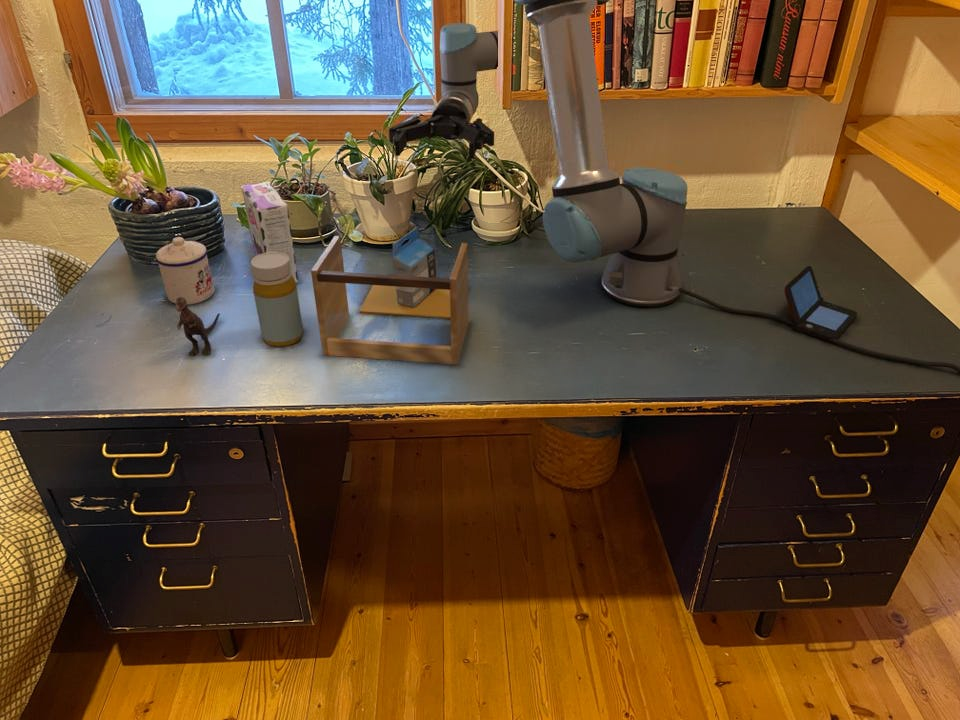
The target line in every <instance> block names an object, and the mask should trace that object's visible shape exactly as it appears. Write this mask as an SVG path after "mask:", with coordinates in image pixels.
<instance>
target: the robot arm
mask: <svg viewBox="0 0 960 720" xmlns="http://www.w3.org/2000/svg"><path fill="white" fill-rule="evenodd" d="M609 1H611V0H513V2H514V3H517V4H519V5H522V6H523V5H524V11H525V12H526V18H527V20H528V21H530V22H531V23H532V24H533V25H535V26H536V27H537V29H538V36H539V43H540V56H541V62H542V69H543V76H544V82H545V90H546V97H547V103H548V111H549V116H550V117H549V118H550V122H551V123H550V124H551V130H552V137H553V144H554V151H555V158H556V164H557V172H558V177H557V178H556V180H555V181H554V183H553V184H552V186H551V191H552V198H551V199H550V200H549V201H548V202H546V204H545V206H544V209H543V210H544V212H543V213H542V225H543V230H544V232H545V236H546V239H547V241H548V243H549V244H550V246H551V247H552V249H553V250H554V251H555V252H556V253H557V255H559V256H560V257H561V258H562V259H564V260H565V261H567V262H569V263H570V262H571V263H582V262H587V261H596V260H597V259H599V258H602V257H607V256H610V255H611V256H610V258H609V260H608V262H607V264H606V267H605V269H604V270H603V273H602V277H601V284H600V287H601V289H602V291H603V293H604V294H605V295H606V296H607V297H608V298H610V299H612V300H613V301H615V302H617V303H620V304H623V305H626V306H631V307H637V308H659V307H663V306H668V305H671V304H672V303H675V302H676V301H677V300H678V299H679V298H680V296H681V294H684V295H687V296H689V297H692V298H694V299H696V300H699V301H701V302H704V303H705V304H708V305H710V306H712V307H713V308H716V309H719V310H721V311H724V312H729V313H732V314H740V315H747V316H756V317H763V318H768V319H772V320H775V321H779V322H781V323H784V324H786V325H789V326H791V327H793V325H794V323H795V322H794V320H793V321H792V320H791V319H788V318H785V317H783V316H779V315H776V314H772V313H768V312H763V311H758V310H757V311H755V310H746V309H739V308H733V307H729V306H725V305H723V304H720V303H717V302H715V301H713V300H711V299H709V298H707V297H705V296H702V295H699V294H697V293H695V292H692V291H690V290H687V289H684V288H682V287H683V280H682V275H681V269H680V264H679V259H678V254H679V253H678V252H679V246H680V243H681V242H680V241H681V234H682V230H683V224H684V219H685V213H686V207H687V205H688V201H687V197H688V190H689V189H688V184H687V182H686V181H685V180H684V179H683V178H682V177H681V176H679V175H677V174H675V173H672V172H669V171H667V170H662V169H659V168H653V167H643V166H642V167H639V166H638V167H636V166H635V167H630V168H628V169H625V171H624V172H623V174H622V176H621V180H622V181H621V180H620V174H619V173H617V172H616V171H615V170H613V169H612V168H611V167H610V164H609V158H608V157H609V156H608V149H607V143H606V141H607V140H606V134H605V127H604V125H605V124H604V119H603V111H602V103H601V102H602V101H601V96H600V88H599V87H600V86H599V79H598V72H597V64H596V57H595V48H594V41H593V33H592V23H591V15H592V13H593V12H594V11H595V9H596V7H597V6H603V5H605V4H608V2H609ZM498 31H499V30H491V31H482V32H477V27H476V26H475V25H474V24H472V23H465V22H458V23H457V22H454V23H453V22H452V23H447V24H445V25H443V26H442V27H441V29H440V33H439V34H440V35H439V36H440V37H439V60H440V73H441V77H440V79H441V81H440V89H441V90H440V92H441V94H440V95H441V97H440V100H439V101H438V103H437V104H436V106H435V108H434V110H433V111H432V113H431V116H430V117H429V118H425V119H424V120H422V119H421V117H420V116H419V115H415V116H413V117H412V118H410V119H409V120H406V121H403V122H401V123H398V124H395V125H393V126H391V127H388V129H387V130H388V131H387V132H388V142H390V143H393V146H394V154H395V156H396V157H400V156H401V155H402V153H403V151H404V150H405V148H406V147H407V145H408V142H413V141H417V140H420V139H424V138H427V139H434V138H437V137H438V138H441V139H442V140H446V141H454V140H465V141H467V142H469V143H468V159H469V160H474V159H475V156H476V153H477V151H480V150H483V148H484V147H485V145H487V146H488V147H494V146H495V131H493V129H492V128H490V127H489V126H488V125H486V124H485V123H484V122H483V118H476V119H475V120H473V122H471V121H472V119H473V116H474V115H475V113H476V112H477V109H478V107H479V102H480V101H479V99H480V97H479V96H480V95H479V92H478V87H477V82H478V72H485V71H493V70H498V69H497V67H498ZM621 182H622V183H621ZM829 342H831V343H833V344H835V345H838V346H841V347H843V348H846V349H849V350H852V351H855V352H859V353H861V354H865V355H868V356H873V357H875V358H876V357H877V358H882V359H885V360H891V361H896V362H903V363H907V364H914V365H918V366H922V367H923V366H924V367H936V368H937V367H938V368H948V369H952V370H954V371H955V372H957V373H958V374H960V366H959V365H957V364H954V363H951V362H944V361H926V360H920V359H915V358H910V357H905V356H899V355H893V354H888V353H884V352H879V351H875V350H870V349H866V348H864V347H861V346H857V345H854V344H850V343H847V342H845V341H842V340H840V339H832V340H831V341H829ZM913 516H914V518H913V517H912V518H913V520H912V519H911V520H912V522H911V521H910V523H911V524H910V523H909V525H910V526H909V525H908V527H909V528H908V527H907V532H909V533H912V532H913V530H914V528H915V525H916V523H917V520H918V518H919V515H913Z"/></svg>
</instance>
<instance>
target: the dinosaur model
mask: <svg viewBox="0 0 960 720" xmlns="http://www.w3.org/2000/svg"><path fill="white" fill-rule="evenodd" d="M175 310H176V312H178V313H180V314H179V321H178V323H177V325H176V328H177V329H178V330H179V331H180V330H181V328H182V325H183V332H184V336H185V338H186V339H187V340H188V341H190V343H191V346H192V348H191V350H190V351H189V352H188V356H190V357H191V356H192V357H194V356H197V355H198V353H199V340H197V339H196V338H195V337H193V336H200V338H201V341H203V342H204V343H203V344H204V345H203V346H204V347H203V349H202V350H201V355H202V356H204V357H206V356H209V355H211V353H212V345H211V342H210V341H209V338H208V333H210V332H211V331H212V330H213V329H214V328H215V326H216V323H217V322H218V320H219V318H220V315H221V313H219V312H218V313H217V315H216V316H215V318H214V319H213V322H212V323H211V325H210V326H208V327H206V328H205V324H204V322H203V321H204V320H202V319H201V317H200V316H198V314H196V313H195V312H193V311H192V310H191V309H190V308H189V306H188V305H187V301H186V300H185V298H184V297H179V298H177V299H176V304H175Z"/></svg>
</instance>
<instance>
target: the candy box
mask: <svg viewBox="0 0 960 720" xmlns="http://www.w3.org/2000/svg"><path fill="white" fill-rule="evenodd" d="M240 187H241V193H242V198H243V202H244V207H245V213H246V218H247V223H248V229H249V233H250V239H251V243H252V244H251V245H252V249H253V254H254V257H255V256H257V255H260V254H263V253H268V252H280V253H284V254H286V255H287V256H288V257H289V259H290V265H291V273H292V277H293V278H294V280H295V282H296V284H298V283H299V276H298V268H297V261H296V256H295V255H296V254H295V248H294V240H293V234H292V227H291V220H290V212H289V206H288V204H287V202H285V201H284V199H283V198H282V197H281V195H280V194H279V192H278V191H277V190H276V189H275V187H274V186H273V185H272V183H271V182H270V181H269V180H267V181H262V182H256V183H252V184H250V183H249V184H244V185H241V186H240Z"/></svg>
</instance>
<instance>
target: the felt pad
mask: <svg viewBox="0 0 960 720" xmlns="http://www.w3.org/2000/svg"><path fill="white" fill-rule="evenodd" d="M359 314H373V315H388V316H389V315H390V316H404V317H417V318H418V317H419V318H433V319H447V320H448V319H449V320H451V318H450V290H445V289H435V290H433V291H432V292H431V293H430V294H429V295H428V296H427V297H426V298H424V299H423V300H422V301H421V302H420V303H419V304H418V305H417V306H416V307H414V308H413V307H408V306H404V305H401V304H398V301H397V291H396V286H381V285H371V288H370V289H369V292H368V294H367V295H366V298H365V299H364V301H363V303H362V304H361V307H360V309H359Z"/></svg>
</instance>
